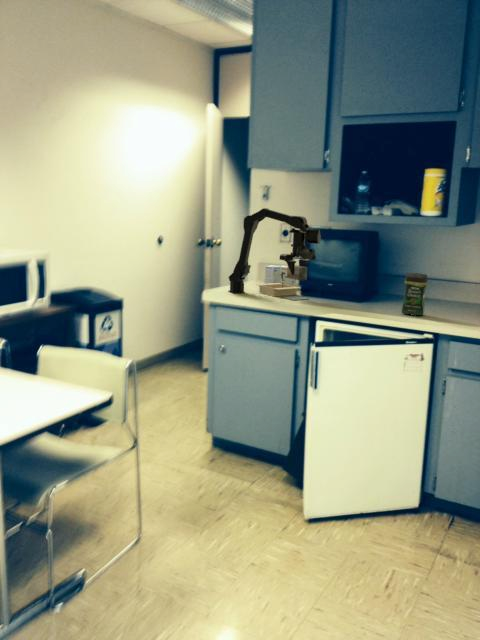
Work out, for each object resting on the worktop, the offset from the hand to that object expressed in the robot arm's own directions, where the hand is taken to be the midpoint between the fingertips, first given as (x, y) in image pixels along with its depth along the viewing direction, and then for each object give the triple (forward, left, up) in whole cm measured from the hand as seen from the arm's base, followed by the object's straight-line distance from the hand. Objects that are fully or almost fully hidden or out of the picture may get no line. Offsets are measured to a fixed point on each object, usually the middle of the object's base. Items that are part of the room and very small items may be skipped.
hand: (296, 274), depth 305 cm
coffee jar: (+23, -54, -12) cm, 60 cm away
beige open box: (+1, +15, -12) cm, 20 cm away
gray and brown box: (0, 0, -2) cm, 2 cm away
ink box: (+19, +30, -12) cm, 37 cm away
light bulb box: (+20, +43, -12) cm, 49 cm away
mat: (0, 0, -12) cm, 12 cm away
